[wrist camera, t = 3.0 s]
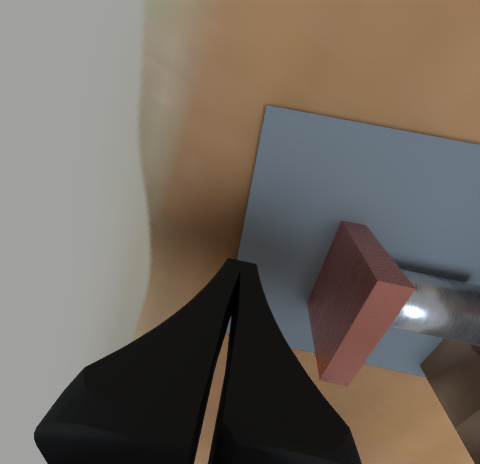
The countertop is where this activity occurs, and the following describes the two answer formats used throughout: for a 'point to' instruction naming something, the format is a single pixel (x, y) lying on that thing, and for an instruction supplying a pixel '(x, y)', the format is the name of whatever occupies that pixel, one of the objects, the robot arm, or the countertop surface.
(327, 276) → the pin
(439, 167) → the mat
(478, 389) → the block
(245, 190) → the countertop surface
